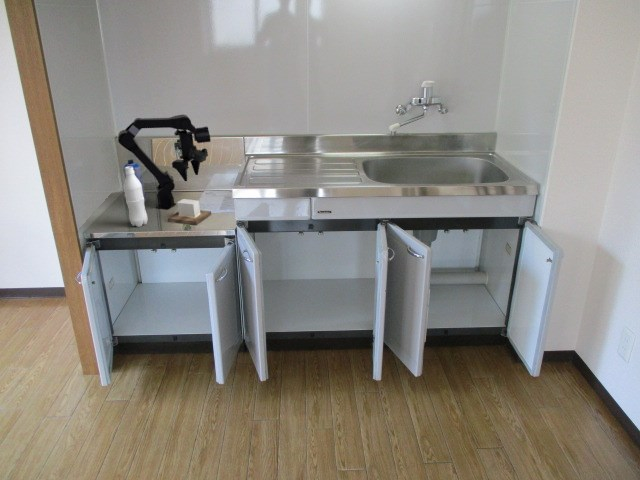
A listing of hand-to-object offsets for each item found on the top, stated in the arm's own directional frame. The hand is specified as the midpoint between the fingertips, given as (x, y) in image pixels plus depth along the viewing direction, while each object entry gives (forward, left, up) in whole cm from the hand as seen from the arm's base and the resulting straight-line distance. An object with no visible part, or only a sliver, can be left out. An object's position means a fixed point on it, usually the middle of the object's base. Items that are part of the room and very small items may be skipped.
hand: (191, 177), depth 229 cm
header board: (+8, -17, -12) cm, 22 cm away
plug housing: (+8, -17, -10) cm, 21 cm away
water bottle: (-9, -29, -12) cm, 33 cm away
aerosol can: (-27, -6, -12) cm, 30 cm away
